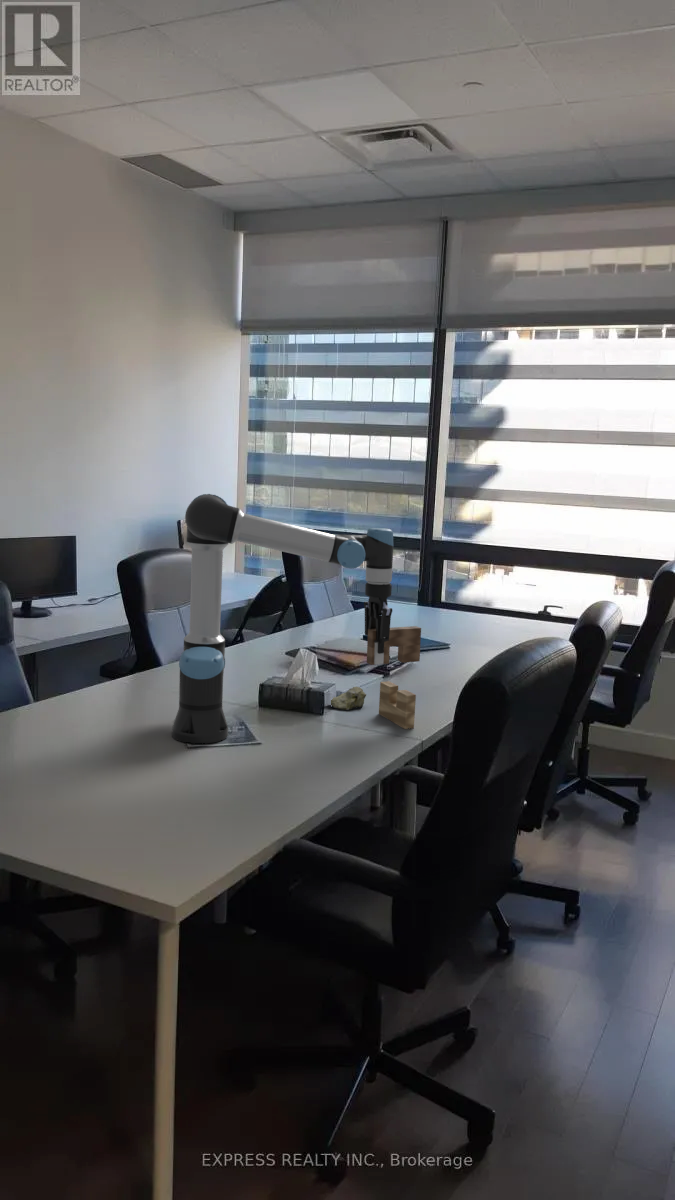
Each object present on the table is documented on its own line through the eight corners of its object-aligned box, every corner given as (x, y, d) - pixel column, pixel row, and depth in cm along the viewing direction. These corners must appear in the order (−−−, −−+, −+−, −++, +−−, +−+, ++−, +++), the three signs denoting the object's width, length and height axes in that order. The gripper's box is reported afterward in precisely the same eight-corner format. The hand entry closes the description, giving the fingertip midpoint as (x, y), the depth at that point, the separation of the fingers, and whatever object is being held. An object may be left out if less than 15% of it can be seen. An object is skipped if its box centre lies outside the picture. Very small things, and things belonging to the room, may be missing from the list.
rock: (323, 710, 280) (348, 712, 274) (322, 690, 280) (347, 691, 274) (344, 704, 289) (369, 706, 282) (343, 685, 288) (368, 686, 282)
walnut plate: (371, 664, 259) (372, 630, 258) (366, 662, 262) (367, 628, 260) (419, 661, 266) (421, 628, 265) (414, 659, 269) (416, 626, 267)
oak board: (404, 729, 261) (406, 695, 259) (378, 713, 275) (380, 681, 273) (413, 728, 262) (415, 694, 260) (387, 713, 276) (389, 681, 274)
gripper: (404, 586, 252) (400, 667, 256) (377, 578, 267) (374, 655, 270) (380, 586, 249) (377, 669, 253) (354, 578, 263) (351, 657, 267)
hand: (375, 662), depth 262 cm, fingers closed on walnut plate, 3 cm apart
